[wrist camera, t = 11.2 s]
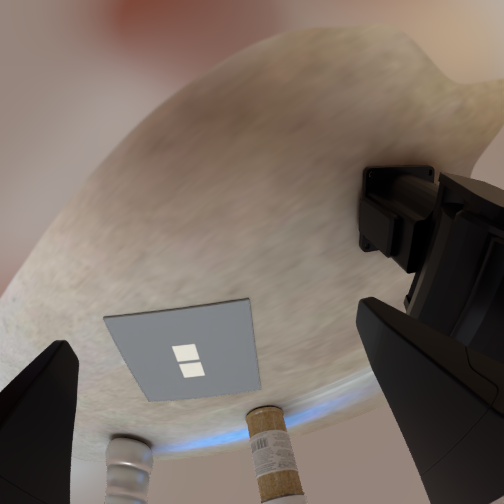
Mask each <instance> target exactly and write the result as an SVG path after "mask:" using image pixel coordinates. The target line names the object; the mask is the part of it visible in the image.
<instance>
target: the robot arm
mask: <svg viewBox="0 0 504 504" xmlns="http://www.w3.org/2000/svg"><path fill="white" fill-rule="evenodd" d="M428 171H429V173H428ZM370 172H372V176H371V177H369V173H370ZM434 174H435V171H434V168H433V167H431V166H429V165H402V166H372V167H367V168H366V169H365V170H364V172H363V196H362V198H361V201H360V220H359V231H360V244H359V246H360V248H361V250H362V251H364V252H371V251H377V250H380V251H381V252H382V253H383V254H384V255H385V256H386V257H387V258H390V257H391V258H392V259H393V260H394V261H395V262H396V263H397V264H398V265H399V266H401V267H402V268H403V269H404V270H405V271H406V272H407V273H408V274H410V273H414V272H415V276H414V279H413V282H412V285H411V288H410V290H409V293H408V295H406V297H405V300H404V306H405V309H406V314H405V313H403V312H401V311H399V310H398V309H396V308H394V307H392V306H390V305H388V304H386V303H384V302H382V301H380V300H378V299H376V298H374V297H368V298H363V299H361V300H360V301H359V304H358V310H357V317H356V326H357V329H358V332H359V335H360V337H361V340H362V343H363V345H364V348H365V351H366V354H367V357H368V360H369V362H370V365H371V368H372V370H373V372H374V374H375V376H376V378H377V380H378V382H379V385H380V387H381V389H382V391H383V393H384V395H385V397H386V399H387V401H388V404H389V406H390V408H391V410H392V412H393V414H394V417H395V419H396V421H397V423H398V425H399V428H400V430H401V432H402V434H403V437H404V439H405V441H406V444H407V446H408V448H409V451H410V453H411V455H412V458H413V460H414V462H415V465H416V467H417V469H418V472H419V474H420V476H421V480H422V482H423V485H424V487H425V490H426V492H427V495H428V498H429V500H430V503H431V504H504V190H502V189H500V188H498V187H495V186H493V185H491V184H488V183H486V182H483V181H479V180H475V179H471V178H466V177H462V176H457V175H453V174H448V173H443V172H440V175H439V180H438V181H439V182H440V183H439V186H438V185H436V184H434ZM367 243H368V245H367V246H366V247H365V245H366V244H367ZM78 372H79V360H78V358H77V356H76V354H75V353H74V351H73V349H72V348H71V346H70V344H69V343H68V342H67V341H66V340H56V341H54V342H53V343H52V344H51V345H49V346H48V347H47V348H46V349H45V350H44V351H43V352H42V353H41V354H40V355H38V356H37V357H36V358H35V359H34V360H33V361H32V362H31V363H30V364H29V365H28V366H27V367H26V368H25V369H24V370H22V371H21V372H20V373H19V374H18V375H17V376H16V377H15V378H14V379H13V380H12V381H11V382H10V383H9V384H8V385H7V386H6V387H5V388H4V389H3V390H2V391H1V392H0V504H70V472H71V454H72V441H73V431H74V422H75V414H76V405H77V387H78Z"/></svg>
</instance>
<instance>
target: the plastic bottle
mask: <svg viewBox="0 0 504 504" xmlns="http://www.w3.org/2000/svg"><path fill="white" fill-rule="evenodd" d="M153 462H154V461H153V455H152V451H151V450H150V448H149V447H148V446H147V445H146V444H144V443H142V442H140V441H137V440H133V439H128V438H115V439H113V440H112V441H111V442H109V444H108V446H107V449H106V465H107V489H106V496H105V502H104V504H147V502H148V497H147V496H148V486H149V479H150V474H151V471H152V467H153Z"/></svg>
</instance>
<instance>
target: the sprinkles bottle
mask: <svg viewBox="0 0 504 504" xmlns="http://www.w3.org/2000/svg"><path fill="white" fill-rule="evenodd" d="M246 423H247V424H248V430H249V436H250V446H251V452H252V458H253V463H254V469H255V475H256V479H257V481H258V485H259V490H260V496H261V503H262V504H308V502H307V498H306V496H305V495H304V492H303V491H302V486H301V483H300V480H299V475H298V469H297V465H296V462H295V458H294V454H293V450H292V446H291V443H290V439H289V435H288V433H287V430H286V426H285V422H284V418H283V411H282V410H280V409H278V408H275V407H263V408H259V409H256V410H254V411H252V412H250V413H249V414H248V415H247V416H246Z"/></svg>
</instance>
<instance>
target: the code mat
mask: <svg viewBox="0 0 504 504" xmlns="http://www.w3.org/2000/svg"><path fill="white" fill-rule="evenodd" d="M103 320H104V322H105V324H106V326H107V328H108V330H109V332H110V334H111V336H112V338H113V340H114V342H115V344H116V346H117V348H118V350H119V352H120V354H121V355H122V357H123V359H124V361H125V363H126V364H127V366H128V368H129V370H130V371H131V373H132V375H133V377H134V378H135V380H136V382H137V383H138V385H139V387H140V388H141V390H142V392H143V393H144V395H145V396H146V398H147V400H148V401H149V402H154V401H172V400H185V399H196V398H206V397H215V396H223V395H230V394H237V393H244V392H251V391H257V390H261V388H260V380H259V373H258V365H257V357H256V350H255V342H254V334H253V326H252V319H251V311H250V303H249V298H248V299H241V300H235V301H228V302H221V303H215V304H208V305H201V306H193V307H186V308H178V309H171V310H163V311H155V312H146V313H138V314H129V315H119V316H110V317H103Z"/></svg>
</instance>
